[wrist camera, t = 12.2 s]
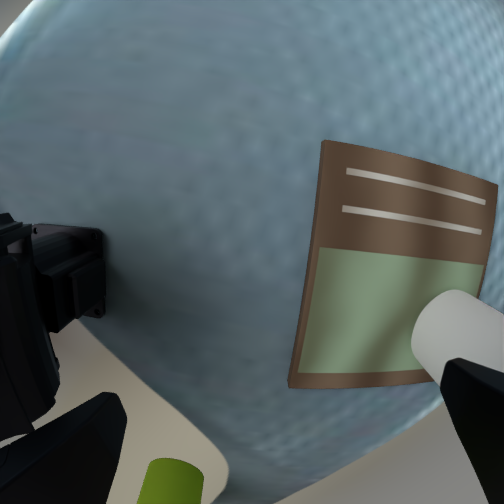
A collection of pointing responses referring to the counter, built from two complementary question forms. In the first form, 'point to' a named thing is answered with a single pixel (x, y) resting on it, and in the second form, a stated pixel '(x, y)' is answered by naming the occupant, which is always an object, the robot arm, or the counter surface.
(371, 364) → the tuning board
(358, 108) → the counter surface
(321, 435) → the counter surface
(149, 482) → the soap dispenser
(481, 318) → the can
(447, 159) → the counter surface
